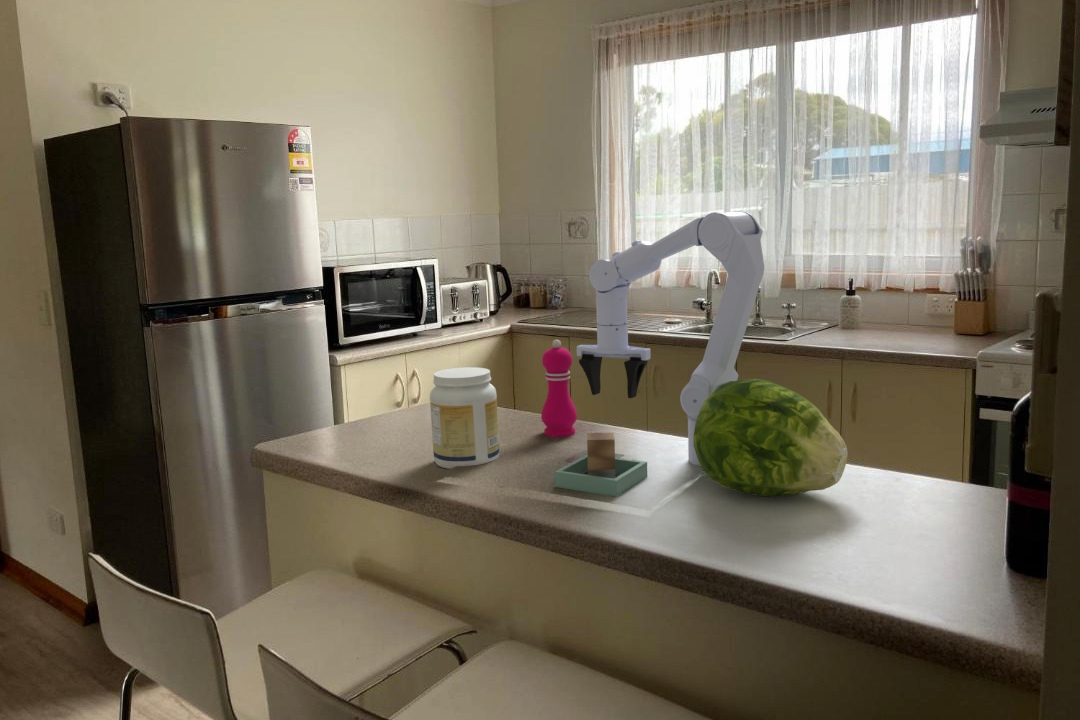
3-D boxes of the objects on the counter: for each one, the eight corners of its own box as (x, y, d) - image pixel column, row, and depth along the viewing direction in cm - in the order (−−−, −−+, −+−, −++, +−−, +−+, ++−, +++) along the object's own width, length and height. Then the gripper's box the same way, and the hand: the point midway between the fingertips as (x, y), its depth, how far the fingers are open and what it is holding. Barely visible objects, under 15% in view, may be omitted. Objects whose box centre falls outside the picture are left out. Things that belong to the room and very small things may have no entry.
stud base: (624, 460, 156) (624, 443, 155) (604, 472, 149) (603, 454, 149) (586, 455, 160) (585, 438, 159) (564, 466, 153) (564, 449, 153)
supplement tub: (480, 449, 167) (475, 363, 164) (512, 462, 157) (508, 371, 154) (422, 460, 160) (417, 371, 158) (452, 475, 150) (446, 380, 148)
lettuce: (813, 531, 120) (846, 405, 118) (664, 479, 132) (691, 365, 130) (845, 514, 136) (873, 403, 134) (708, 470, 148) (733, 368, 146)
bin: (647, 482, 143) (647, 461, 142) (617, 502, 133) (616, 480, 133) (588, 473, 149) (587, 454, 148) (555, 492, 139) (554, 471, 139)
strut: (614, 478, 143) (613, 432, 142) (615, 487, 139) (614, 439, 137) (588, 479, 143) (587, 433, 142) (588, 487, 139) (587, 440, 138)
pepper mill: (574, 442, 169) (571, 342, 166) (538, 441, 171) (535, 342, 167) (580, 433, 176) (577, 336, 173) (545, 432, 178) (542, 337, 174)
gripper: (657, 322, 159) (658, 394, 161) (588, 320, 167) (590, 388, 169) (640, 327, 153) (642, 401, 155) (570, 324, 161) (572, 395, 163)
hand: (613, 395), depth 162 cm, fingers open, 7 cm apart
